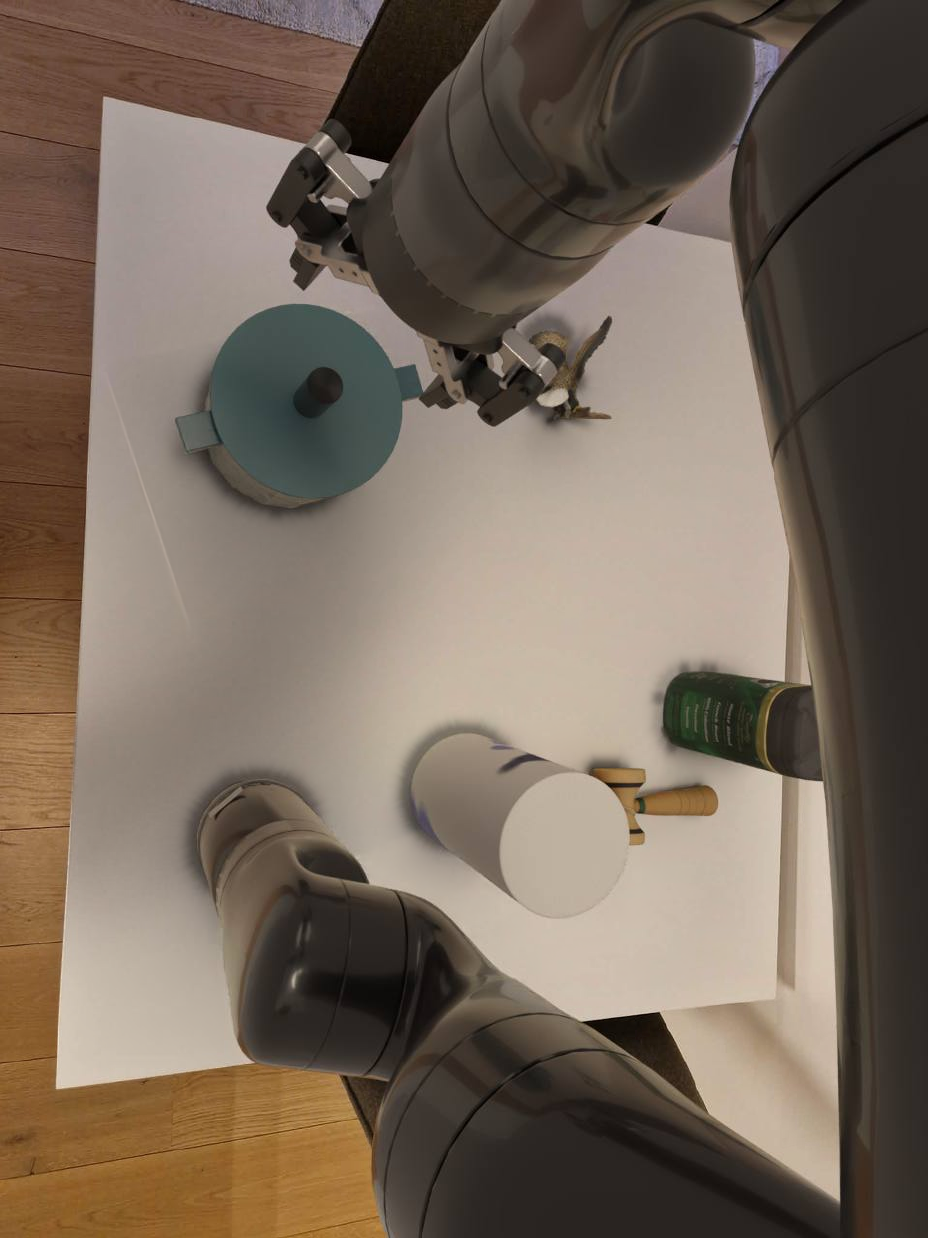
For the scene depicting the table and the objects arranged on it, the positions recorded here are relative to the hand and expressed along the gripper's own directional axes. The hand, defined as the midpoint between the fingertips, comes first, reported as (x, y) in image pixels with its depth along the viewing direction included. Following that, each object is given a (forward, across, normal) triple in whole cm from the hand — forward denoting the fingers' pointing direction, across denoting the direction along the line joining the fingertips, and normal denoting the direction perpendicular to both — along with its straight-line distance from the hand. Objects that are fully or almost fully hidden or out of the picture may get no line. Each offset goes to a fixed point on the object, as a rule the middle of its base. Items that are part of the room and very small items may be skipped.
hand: (373, 333), depth 46 cm
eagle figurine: (+28, +15, +21) cm, 38 cm away
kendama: (+28, +46, -6) cm, 54 cm away
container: (+28, +32, -14) cm, 45 cm away
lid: (+18, 0, 0) cm, 18 cm away
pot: (+28, 0, 0) cm, 28 cm away
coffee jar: (+28, +48, +6) cm, 56 cm away
